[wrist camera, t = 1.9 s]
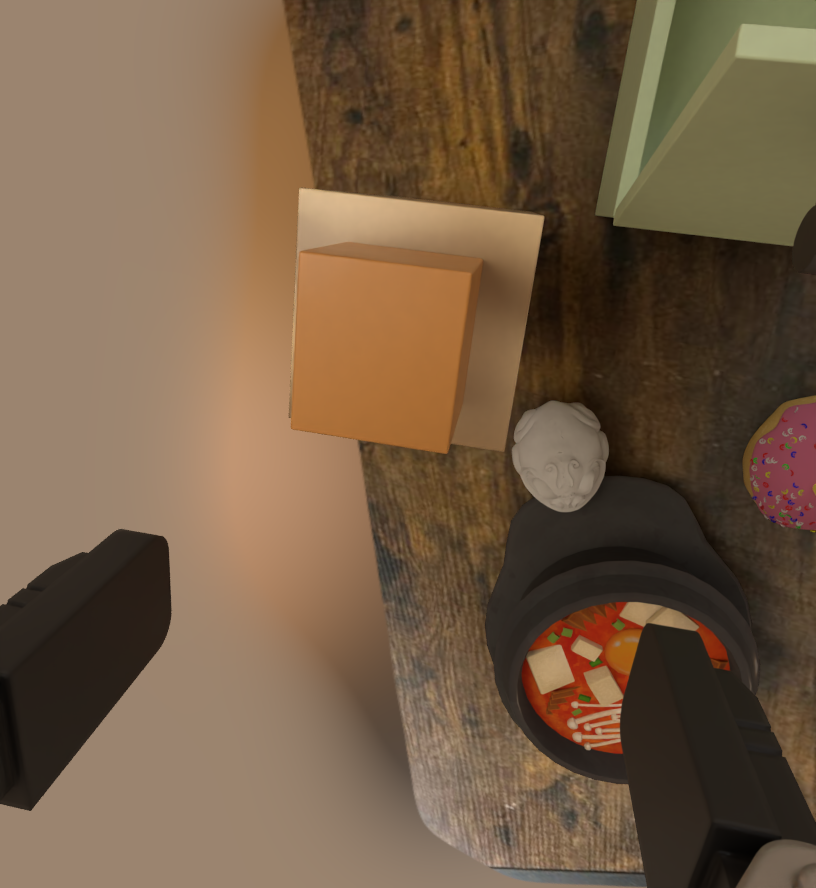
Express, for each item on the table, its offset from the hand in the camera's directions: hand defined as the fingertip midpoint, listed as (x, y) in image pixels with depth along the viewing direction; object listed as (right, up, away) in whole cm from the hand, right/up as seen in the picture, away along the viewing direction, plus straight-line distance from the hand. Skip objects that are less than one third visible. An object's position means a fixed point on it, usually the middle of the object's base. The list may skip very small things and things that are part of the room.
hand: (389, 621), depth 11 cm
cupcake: (+25, +3, +32) cm, 41 cm away
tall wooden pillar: (+4, +14, +32) cm, 35 cm away
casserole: (+16, -10, +39) cm, 43 cm away
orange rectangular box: (0, +7, +11) cm, 13 cm away
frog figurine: (+11, +4, +35) cm, 37 cm away
